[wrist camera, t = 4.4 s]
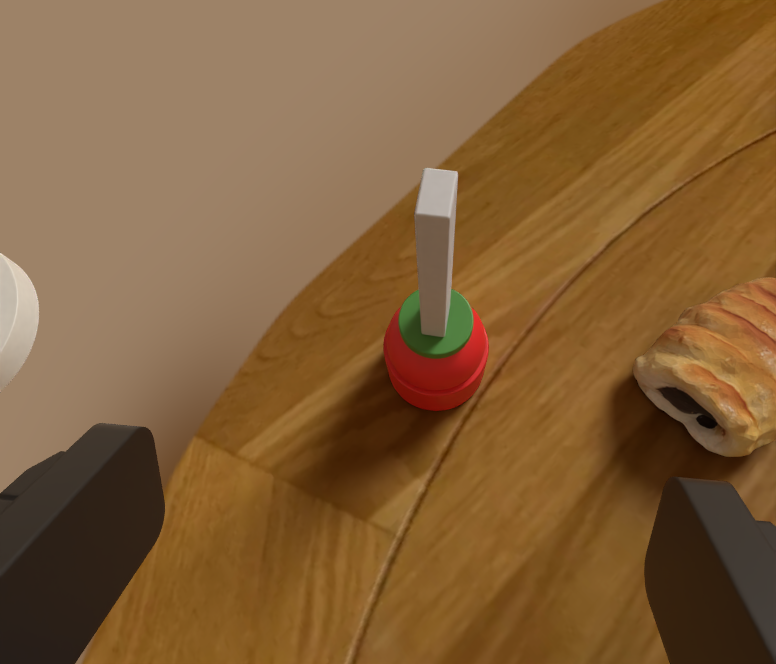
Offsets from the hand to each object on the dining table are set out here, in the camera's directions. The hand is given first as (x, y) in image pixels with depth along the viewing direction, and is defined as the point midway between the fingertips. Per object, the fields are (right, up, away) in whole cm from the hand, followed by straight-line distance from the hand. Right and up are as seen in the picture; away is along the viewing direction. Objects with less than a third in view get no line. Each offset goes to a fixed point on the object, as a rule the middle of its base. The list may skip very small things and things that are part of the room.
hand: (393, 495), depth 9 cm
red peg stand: (+2, +1, +21) cm, 21 cm away
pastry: (+16, +1, +20) cm, 26 cm away
